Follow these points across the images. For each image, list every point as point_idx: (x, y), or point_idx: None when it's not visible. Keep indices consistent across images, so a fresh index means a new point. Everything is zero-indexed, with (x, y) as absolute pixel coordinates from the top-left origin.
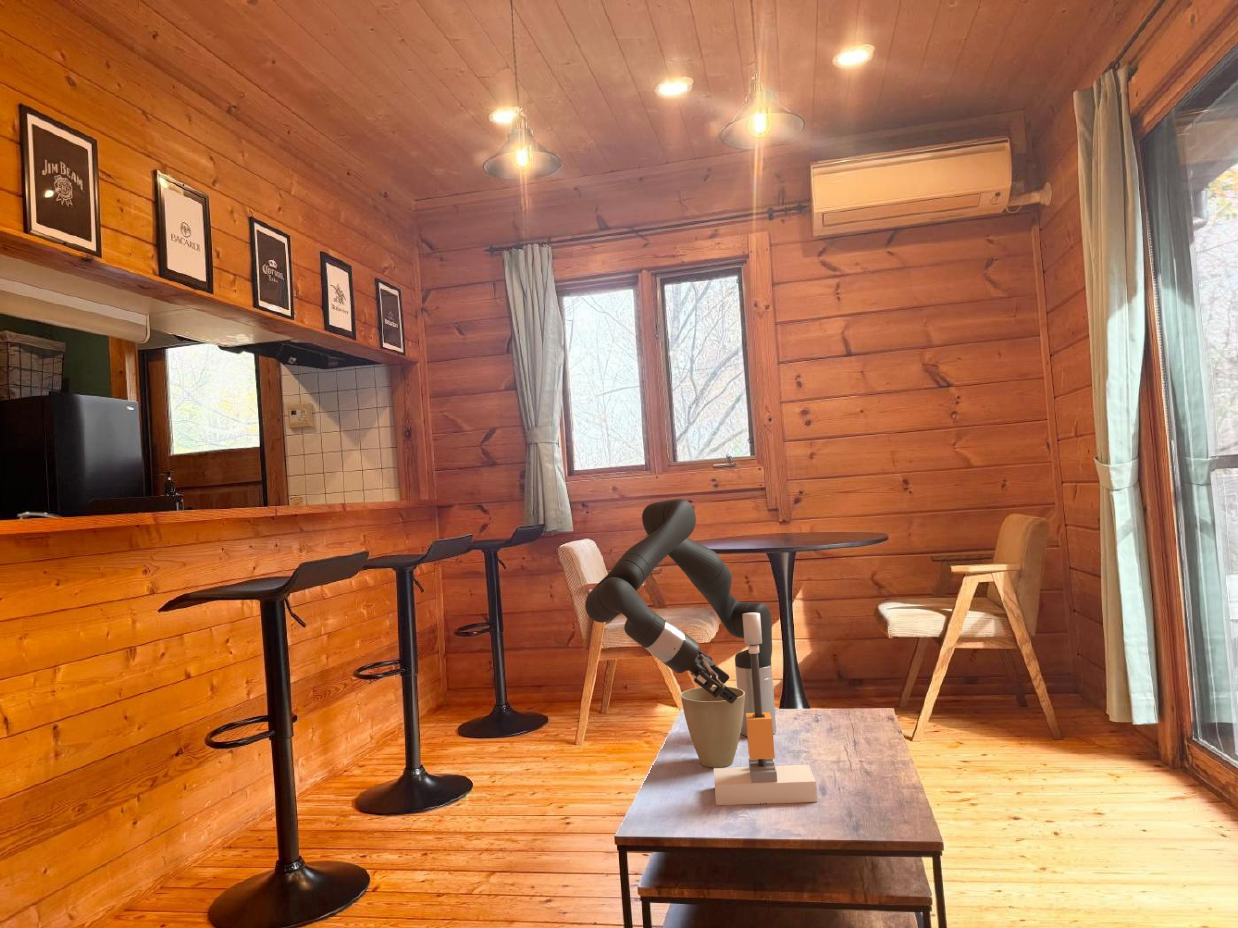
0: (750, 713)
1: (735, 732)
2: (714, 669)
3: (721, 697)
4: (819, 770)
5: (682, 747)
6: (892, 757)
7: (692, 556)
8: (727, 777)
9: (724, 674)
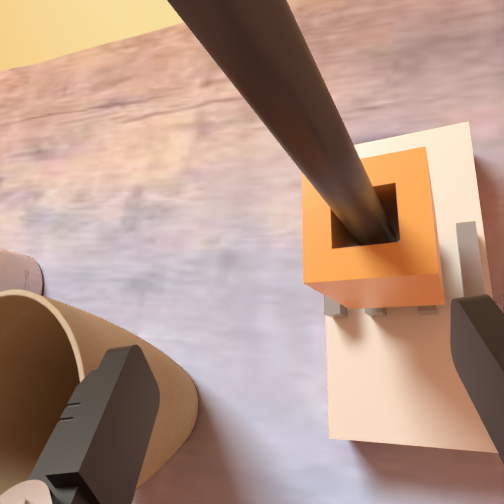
0: (310, 259)
1: (146, 346)
2: (85, 500)
3: None
4: (249, 159)
5: None
6: None
7: None
8: (425, 396)
9: (124, 386)
